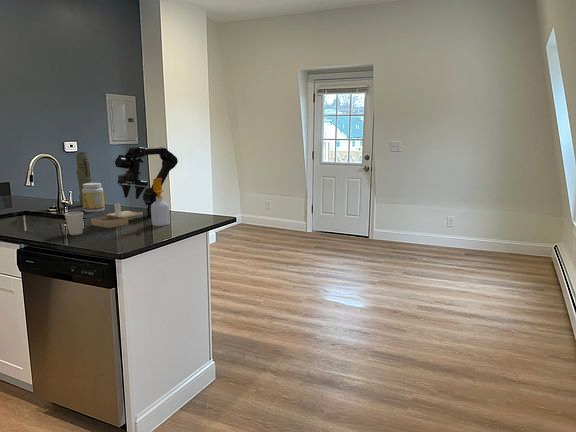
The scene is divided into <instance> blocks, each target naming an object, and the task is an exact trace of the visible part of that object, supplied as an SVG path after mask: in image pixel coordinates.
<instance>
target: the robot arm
mask: <svg viewBox="0 0 576 432" xmlns="http://www.w3.org/2000/svg"><path fill="white" fill-rule="evenodd" d="M150 155H151V156H153V155H159V159H160V160H161V169H160V170H159V171H158V172H159V173H158V174H157V176H156V178H162V180H161V187H162V186H163V185H164V183H165V181H166V179H167V177H168V175H169V173H170V171H171V170H173V169H175V167H176V166H177V164H178V162H179V161H178V157H177V156H175V154H174V153H172V152H171V151H169V150H168V149H167V147H164V146H163V147H162V146H160V147H148V148H146V147H141V146H140V147H139V146H138V147H137V146H131V147H129V148H128V151H127V152H126V153H124V155H123V154H118V156H117V158H116V159H115V161H114V165H115V167H117V168H119V169H124V170H125V169H127V170H126V171H125V173H122V174H119V175H118V176H117V184H118V186H119V187H121V189H122V191H123V194H124V195H123V196H124V198H128V195H129V192H130V191H131V190H130V189H131V188H132V185H134V189H135V199H136V200H138V199H139V198H140V196H141V195H142V194H143V195H142V200H143V201H144V204H145V205H146V206H147V207H146V214H147V215H146V216H147V217H151V205H152V204H153V203H154V202H155V201H156V196H157V194H156V192H154V187H153V184H152V185H151V187H149V188H147V187H148V186H149V183H148V181H147V180H140V179H139V178H140V175H141V174H142V173H141V171H140V168H141V163H142V164H143V163H144V160H143V159H142V158H144V157H146V156H150ZM143 191H144V192H143Z"/></svg>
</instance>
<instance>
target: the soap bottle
mask: <svg viewBox="0 0 576 432" xmlns="http://www.w3.org/2000/svg"><path fill="white" fill-rule="evenodd" d="M161 180H162V178H153V179H152V185H153V187H154V192H156V194H157V196H156V201H155V202H154V203H153V204H152V205H151V216H150V217H151V225H152V226H153V227H165V226H168V225H170V224H171V221H170V220H171V219H170V205H169V204H168V203H167V202H166V201H165V200H164V199H163V196H162V195H161V194H162V193H163V192H164V190H163V189H162V187H161Z"/></svg>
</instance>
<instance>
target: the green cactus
mask: <svg viewBox="0 0 576 432" xmlns="http://www.w3.org/2000/svg"><path fill="white" fill-rule="evenodd" d="M75 159H76V165H77V167H76V168H77V169H76V178H77V181H78V189H79V195H78V197H79V204H80V207H83V198H82V189H83V184H86V183H93V182H92V180H93V173H92V170H91V166H90V165H91V164H90V156H89V154H88V153H87V152H85V151H83V152H78V153H76V158H75Z"/></svg>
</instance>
